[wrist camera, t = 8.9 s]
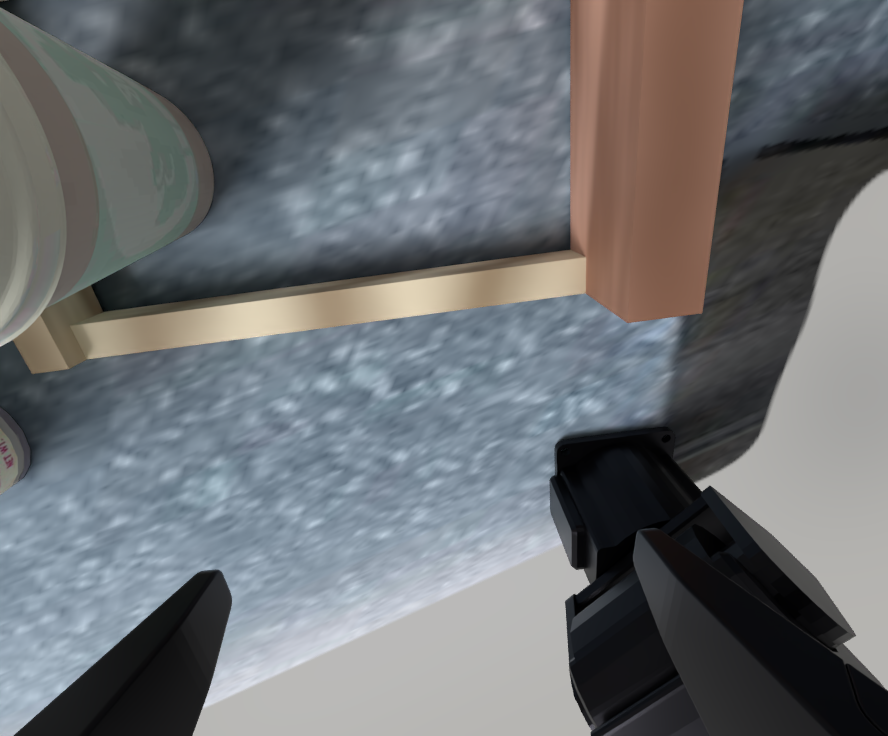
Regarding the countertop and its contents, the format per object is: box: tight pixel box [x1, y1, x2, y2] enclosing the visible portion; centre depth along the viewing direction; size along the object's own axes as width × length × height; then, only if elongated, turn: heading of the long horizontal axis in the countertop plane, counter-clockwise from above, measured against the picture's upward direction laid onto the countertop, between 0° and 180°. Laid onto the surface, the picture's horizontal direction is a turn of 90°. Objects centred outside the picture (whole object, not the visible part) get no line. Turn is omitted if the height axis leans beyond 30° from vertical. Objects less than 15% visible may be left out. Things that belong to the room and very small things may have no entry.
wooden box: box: [0, 0, 744, 374], centre depth 14 cm, size 25×14×6 cm, turn 97°
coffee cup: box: [0, 8, 214, 346], centre depth 12 cm, size 8×9×12 cm
